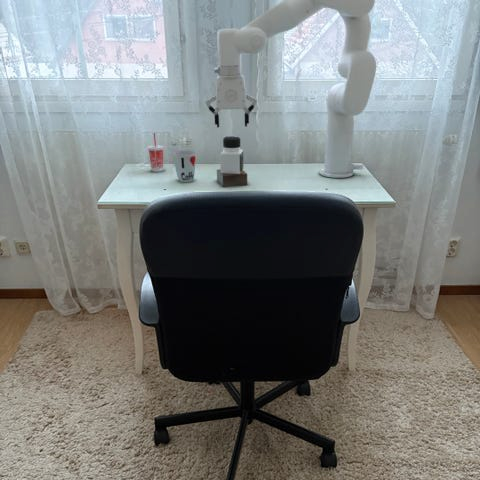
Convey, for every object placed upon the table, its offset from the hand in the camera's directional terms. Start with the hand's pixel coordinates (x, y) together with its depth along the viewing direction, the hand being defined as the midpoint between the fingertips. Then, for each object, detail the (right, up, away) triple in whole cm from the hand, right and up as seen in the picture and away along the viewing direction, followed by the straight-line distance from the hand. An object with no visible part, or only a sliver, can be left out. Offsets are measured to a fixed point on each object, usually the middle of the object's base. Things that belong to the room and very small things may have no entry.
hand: (232, 126), depth 178 cm
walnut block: (0, -17, +10) cm, 20 cm away
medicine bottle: (0, -14, +8) cm, 16 cm away
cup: (-17, -15, +13) cm, 27 cm away
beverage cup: (-30, -8, +26) cm, 40 cm away
